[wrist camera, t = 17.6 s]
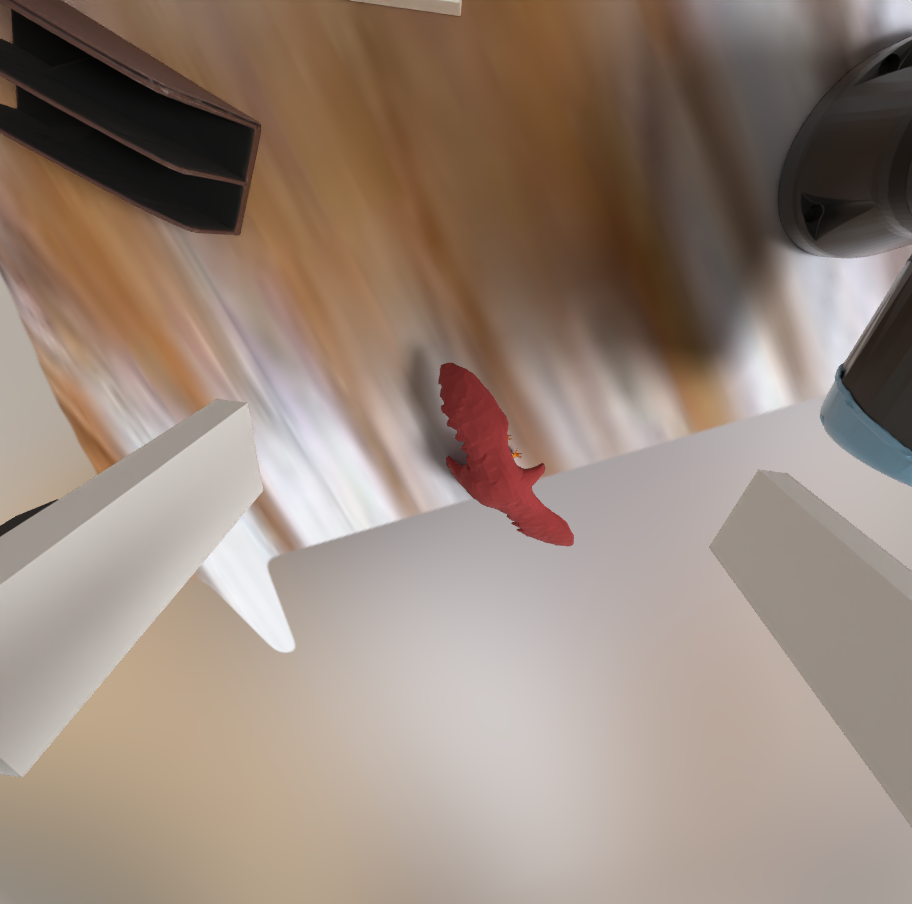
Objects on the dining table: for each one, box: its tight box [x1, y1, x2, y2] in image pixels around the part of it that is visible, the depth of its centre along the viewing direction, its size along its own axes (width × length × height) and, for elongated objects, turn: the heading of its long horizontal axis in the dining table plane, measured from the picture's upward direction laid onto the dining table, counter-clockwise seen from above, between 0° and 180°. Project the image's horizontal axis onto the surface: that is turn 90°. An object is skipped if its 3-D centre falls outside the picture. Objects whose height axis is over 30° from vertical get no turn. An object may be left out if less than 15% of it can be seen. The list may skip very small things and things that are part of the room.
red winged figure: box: [438, 363, 574, 546], centre depth 46 cm, size 28×9×15 cm
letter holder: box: [0, 0, 261, 235], centre depth 28 cm, size 10×20×14 cm, turn 61°
